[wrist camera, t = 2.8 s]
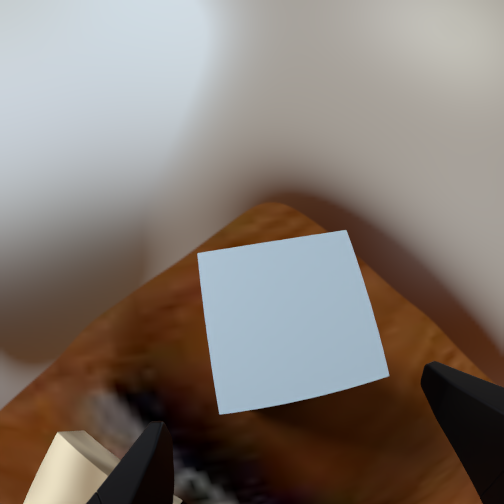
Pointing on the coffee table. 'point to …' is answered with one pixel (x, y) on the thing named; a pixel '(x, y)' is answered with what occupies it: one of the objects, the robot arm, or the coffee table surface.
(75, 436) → the maple block
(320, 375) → the blue pillar
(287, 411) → the coffee table surface
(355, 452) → the coffee table surface
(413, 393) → the coffee table surface
